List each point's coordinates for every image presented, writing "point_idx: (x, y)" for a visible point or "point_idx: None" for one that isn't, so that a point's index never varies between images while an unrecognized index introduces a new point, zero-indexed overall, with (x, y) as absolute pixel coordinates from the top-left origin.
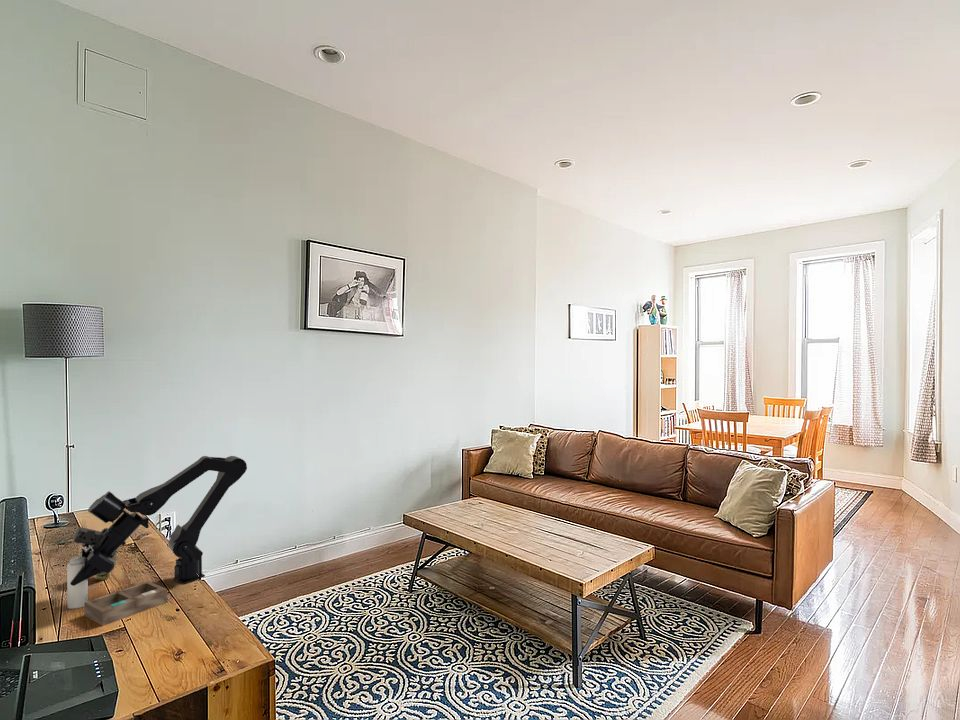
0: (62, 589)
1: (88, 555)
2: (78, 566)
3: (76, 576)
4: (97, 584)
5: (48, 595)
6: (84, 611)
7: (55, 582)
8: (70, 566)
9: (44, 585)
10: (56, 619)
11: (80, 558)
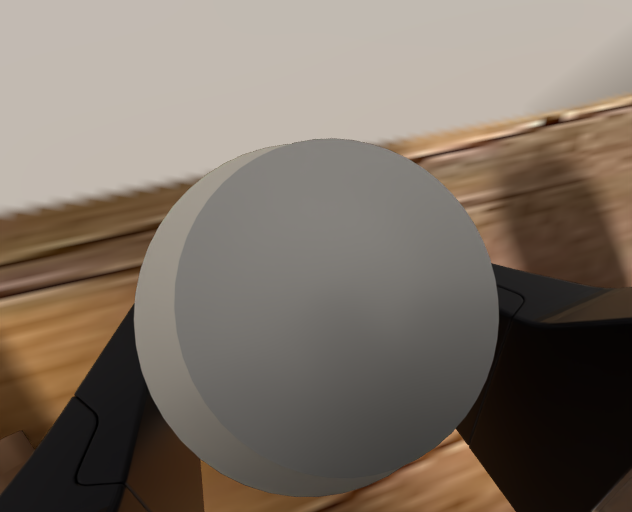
0: (515, 189)
1: (624, 436)
2: (142, 372)
3: (102, 351)
4: None
5: (457, 144)
6: (3, 438)
7: (603, 142)
8: (167, 218)
9: (578, 106)
10: (64, 260)
11: (352, 371)
